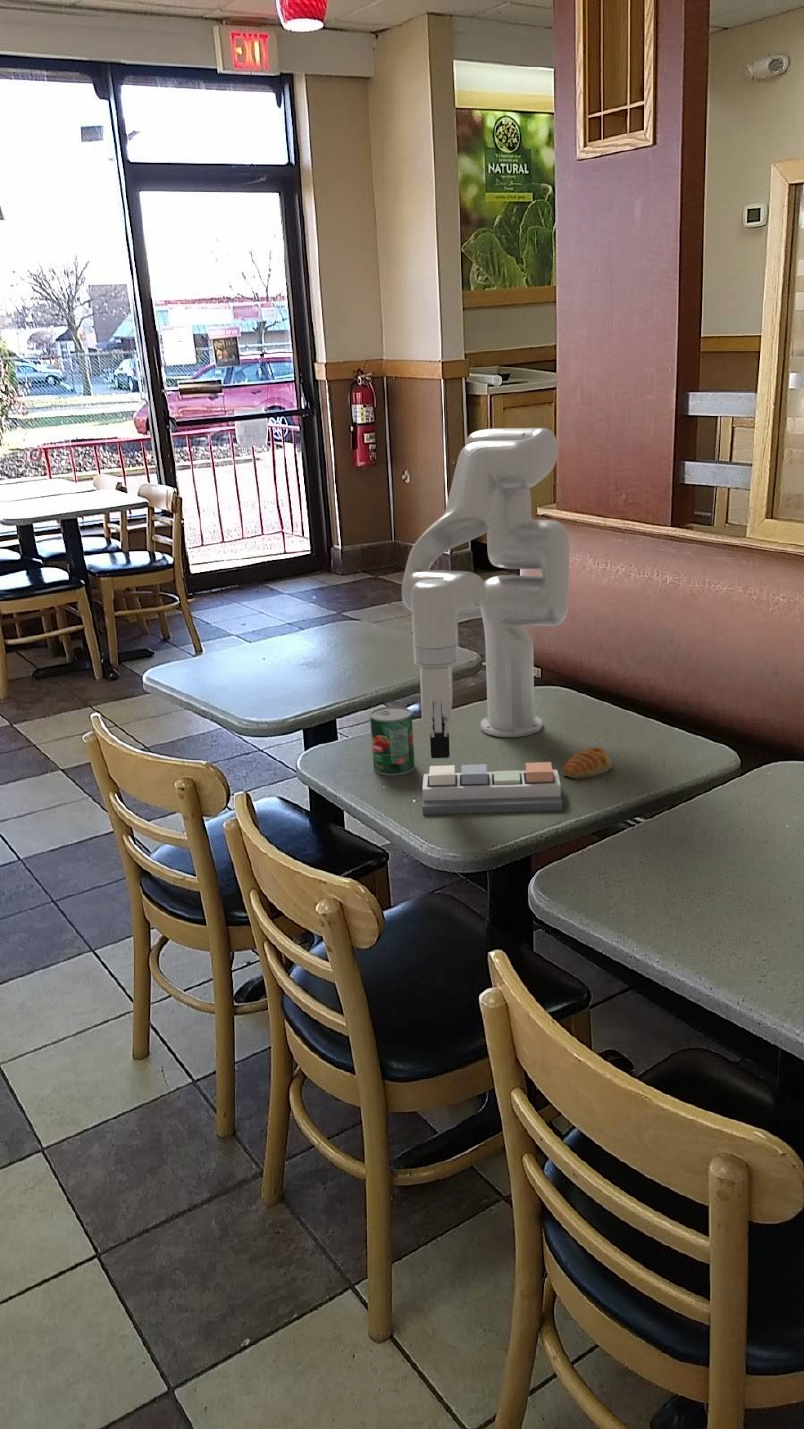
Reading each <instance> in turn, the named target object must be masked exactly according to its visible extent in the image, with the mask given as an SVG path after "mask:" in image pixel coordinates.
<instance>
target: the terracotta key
mask: <svg viewBox="0 0 804 1429" xmlns="http://www.w3.org/2000/svg"><path fill="white" fill-rule="evenodd" d="M553 770H554V769H553V765H552V761H545V762H541V761H540V762H525V771H526V777H527V782H548V781H553Z"/></svg>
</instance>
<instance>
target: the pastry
mask: <svg viewBox="0 0 804 1429" xmlns="http://www.w3.org/2000/svg"><path fill="white" fill-rule="evenodd" d="M612 766H613V763H612V760H611V758H610V757H609V756H608V752H607V751H606V750H605V749H603V748H601V747H589V748H588V749H586V750H582V751H580V752H577V753H574V754H573V756H572V757H570V759H568V760H567V762H566V763H565V764H564V765H563V767H562V772H563V774H562V775H563V776H566V777H568V778H572V779H577V780H579V778H581V779H584V778H585V779H586V778H591V777H592V778H593V777H596V776H598V775H600V774H603V773H606V772H608V771H609V770H610V769H611V768H612Z"/></svg>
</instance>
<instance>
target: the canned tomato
mask: <svg viewBox="0 0 804 1429" xmlns="http://www.w3.org/2000/svg"><path fill="white" fill-rule="evenodd" d="M412 714H413V713H412V710H411V709H409V708H407V707H403V706H384V707H379V708H376V709H374V710H372V711H371V712H370V713H369V719H370V733H371V748H372V760H373V761H372V762H373V770H374V772H375V773H376V772H377V773H376V774H378V773H379V774H378V775H381V774H382V776H390V775H391V776H401V775H406V774H408V773H410V772H412V771H413V770H415V768H416V764H415V749H414V745H415V744H414V734H413V729H414V728H413V718H412Z"/></svg>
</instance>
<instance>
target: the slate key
mask: <svg viewBox="0 0 804 1429" xmlns="http://www.w3.org/2000/svg"><path fill="white" fill-rule="evenodd" d="M487 766H488V764H485V763H480V764H478V763H477V764H461V773H462V784H485V783H487V772H488V767H487Z"/></svg>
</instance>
